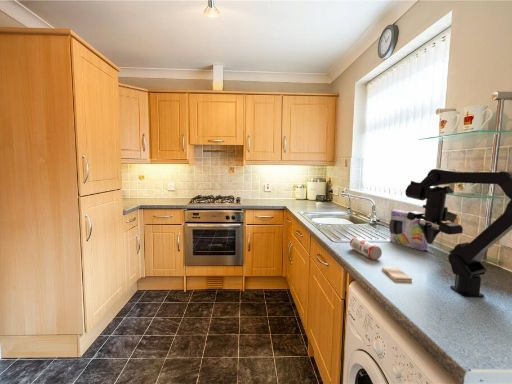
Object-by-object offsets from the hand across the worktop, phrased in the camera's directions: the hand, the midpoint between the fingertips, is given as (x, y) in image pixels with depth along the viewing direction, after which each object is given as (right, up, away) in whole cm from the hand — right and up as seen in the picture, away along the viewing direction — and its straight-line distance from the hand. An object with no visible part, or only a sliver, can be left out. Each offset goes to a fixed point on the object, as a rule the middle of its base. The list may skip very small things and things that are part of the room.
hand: (429, 243), depth 99 cm
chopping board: (-12, -12, 0) cm, 17 cm away
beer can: (-13, -7, +15) cm, 21 cm away
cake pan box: (+13, -9, +38) cm, 41 cm away
